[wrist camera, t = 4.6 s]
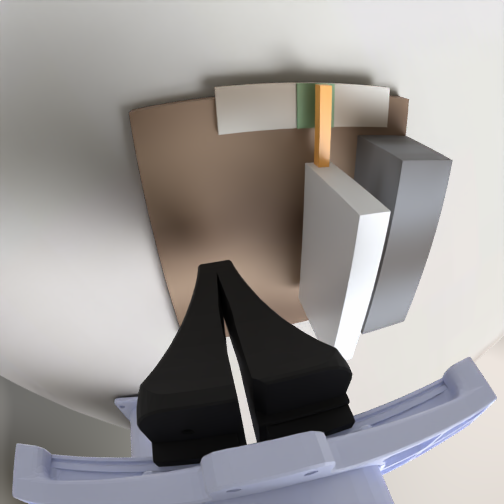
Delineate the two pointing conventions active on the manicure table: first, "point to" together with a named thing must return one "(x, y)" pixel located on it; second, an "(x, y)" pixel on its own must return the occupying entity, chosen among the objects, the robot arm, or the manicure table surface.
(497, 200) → the manicure table surface
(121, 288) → the manicure table surface
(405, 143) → the gauge frame
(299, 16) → the manicure table surface
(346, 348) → the paddle
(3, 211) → the manicure table surface
